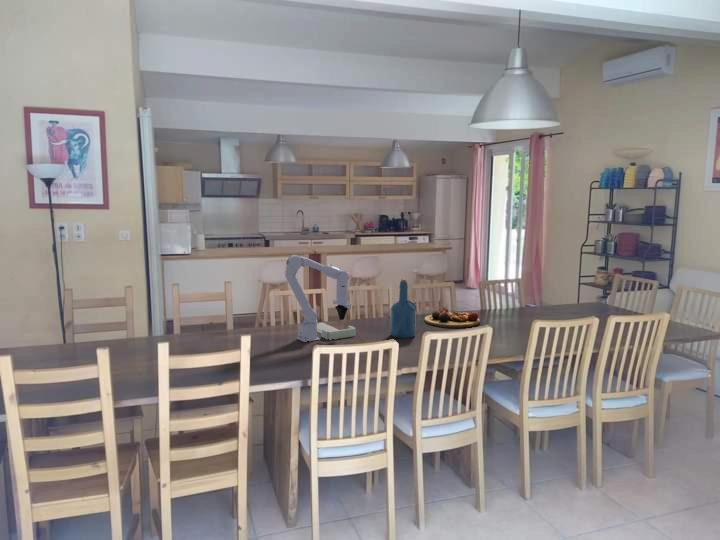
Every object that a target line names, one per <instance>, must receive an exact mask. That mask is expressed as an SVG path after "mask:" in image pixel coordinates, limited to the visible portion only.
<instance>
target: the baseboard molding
mask: <svg viewBox="0 0 720 540" xmlns="http://www.w3.org/2000/svg"><path fill="white" fill-rule="evenodd" d="M323 329H325V330H327V331H329V332H330V331H337V330H339V329H338V328H335V327H334V326H332V325H329V324H328V323H327V324H326V322H325V323H324V322H323V321H318V322H317V333H319V334H320V335H322V330H323Z"/></svg>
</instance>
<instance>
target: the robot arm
mask: <svg viewBox="0 0 720 540" xmlns="http://www.w3.org/2000/svg"><path fill="white" fill-rule="evenodd" d="M301 267H302V268H305V267H310V268H312V269H314V270H315V269H316V270H317V271H319V272H322V275H324V276H326V277H329V278H331V279H333V280H336V290H335V291H336V298H335V299H333V300H332V304H333V305H337V306H335V309H336V312H337V315H338V319H339V321H345V319H346V314H347V311H348V310H349V309H352V304H350V301H348V296H349V295H348V292H349V291H348V290H349V289H348V287H349V286H348V283H349V282H348V281H349V279H350V276H349V274H348V272H347V271H345V270H343V269H341V268H340V267H339V268H338V267H336V266H333V264H331V263H329V264H328V263H327V264H325V265H324V264H321V263H319V262H317V261H314V260H313V259H310V258H308V257H307V256H306V257H305V256H301V255H298V254H291V255H289V256H288V258H287V261H286V263H285V273H284V275H285V278H286V279H285V280H286V281H287V282H288V284H289V286H290V288H291V290H292V293H293V294H294V297H295V298H296V301H297V302H298V304H299V306H300V308H301V310H302V316H303V318H304V319H303V320H302V322H301V323H299V324H298V326H297V337H296V338H297V340H299V341H301V342H303V343H308V342H307V341H309V342H313V341H319V340H321V338H320V337H318V332H317V323H318V314H317V312H316V311H315V310H314V308H313V307H312V306H311V304H310V303H309V301H308V299H307V297H306V295H305V293H304V291H303V289H302V286H301V285H300V283H299V281H298V278H297V277H296V275H297V273H298V271H299V269H301Z"/></svg>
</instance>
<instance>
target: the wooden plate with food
mask: <svg viewBox="0 0 720 540" xmlns="http://www.w3.org/2000/svg"><path fill="white" fill-rule="evenodd" d="M424 322H425V324H427V323H428V325H430V324H431V325H430V326H433V325H435V326H434V327H439V326H440V328H453V329H455V328H458V329H459V328H469V327H470V328H471V327H474V326H477V325H479V324H480V323H481V320H480V318H479V313H477V312H475V311H473V312H472V311H471V312H465V311H464V312H457V311H454V310H451V311H449V309H448V308H447V307H442V308H438V309H435V310H433V312H432V313H431V314H429V315H427V316H425V317H424Z"/></svg>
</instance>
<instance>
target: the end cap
mask: <svg viewBox="0 0 720 540" xmlns="http://www.w3.org/2000/svg"><path fill="white" fill-rule="evenodd" d="M356 336H357V328H356V327H354V326H353V325H348V326H347V328H344V329H338V330H337V331H330V332H329V331H327V330H325V329H323V330H322V334H321V338H322V337H323V338H322V339H324V338H325V340H326V339H327V340H328V339H329V341H333V340H332V339H334V340H337V339H338V340H339V338H340V339H345V338H350V337H351V338H352V337H356Z"/></svg>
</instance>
